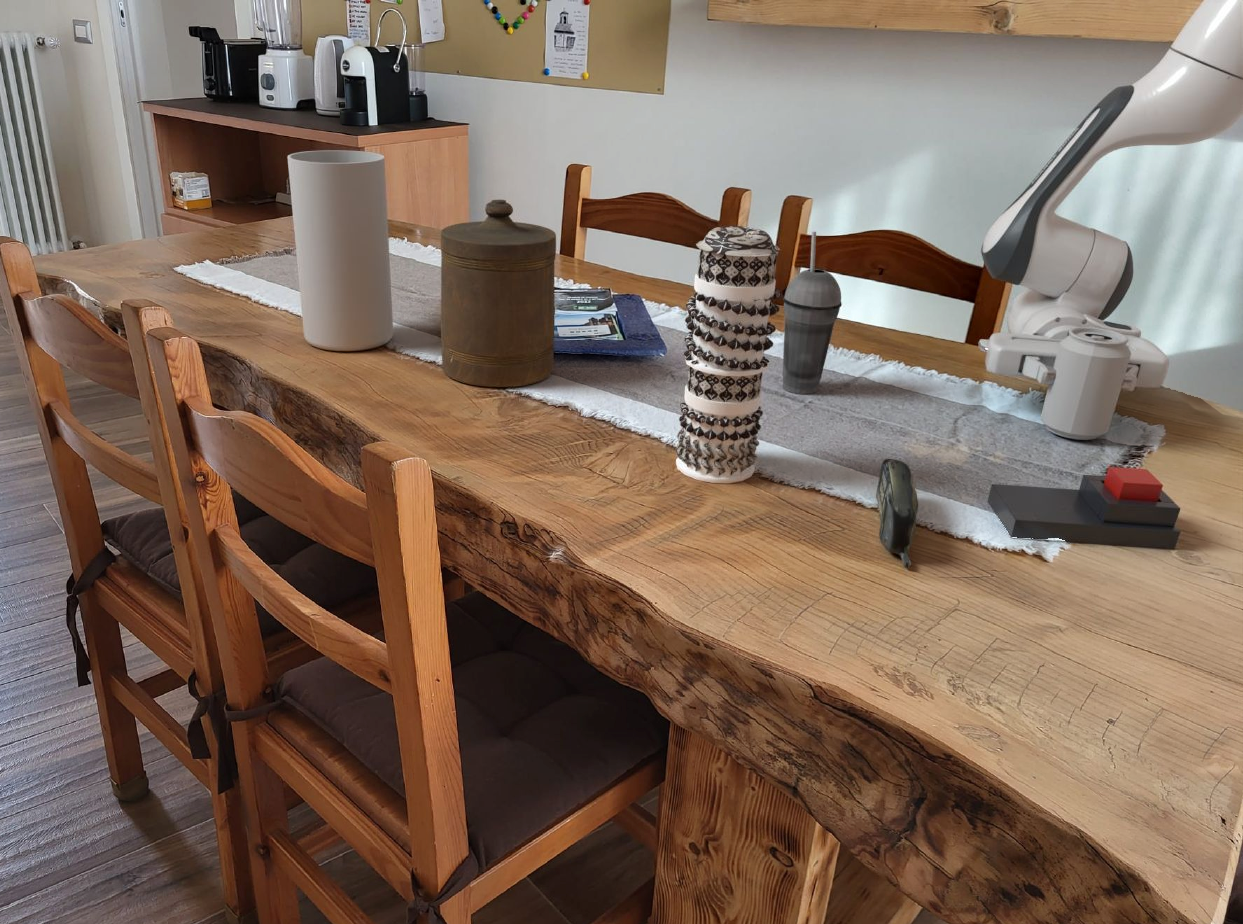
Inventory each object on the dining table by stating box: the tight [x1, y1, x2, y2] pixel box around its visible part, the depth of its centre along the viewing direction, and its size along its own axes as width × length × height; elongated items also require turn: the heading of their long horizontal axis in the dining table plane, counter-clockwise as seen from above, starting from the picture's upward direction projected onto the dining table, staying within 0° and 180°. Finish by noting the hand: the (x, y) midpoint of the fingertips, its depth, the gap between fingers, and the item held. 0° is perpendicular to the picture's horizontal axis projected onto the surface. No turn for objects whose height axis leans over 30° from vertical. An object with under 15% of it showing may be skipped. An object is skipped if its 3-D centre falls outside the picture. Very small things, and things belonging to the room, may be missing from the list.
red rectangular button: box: [1104, 466, 1164, 502], centre depth 95 cm, size 4×4×2 cm
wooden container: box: [440, 199, 557, 388], centre depth 128 cm, size 15×15×22 cm
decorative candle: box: [675, 225, 783, 484], centre depth 101 cm, size 9×9×25 cm
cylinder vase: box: [286, 149, 394, 352], centre depth 137 cm, size 12×12×25 cm
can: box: [1040, 327, 1131, 441], centre depth 116 cm, size 8×8×12 cm
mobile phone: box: [875, 458, 919, 569], centre depth 94 cm, size 5×3×15 cm
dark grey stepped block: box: [987, 474, 1181, 551], centre depth 96 cm, size 15×8×4 cm, turn 85°
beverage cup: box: [782, 231, 843, 395], centre depth 126 cm, size 7×7×20 cm
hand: (1088, 381), depth 115 cm, fingers closed on can, 7 cm apart
